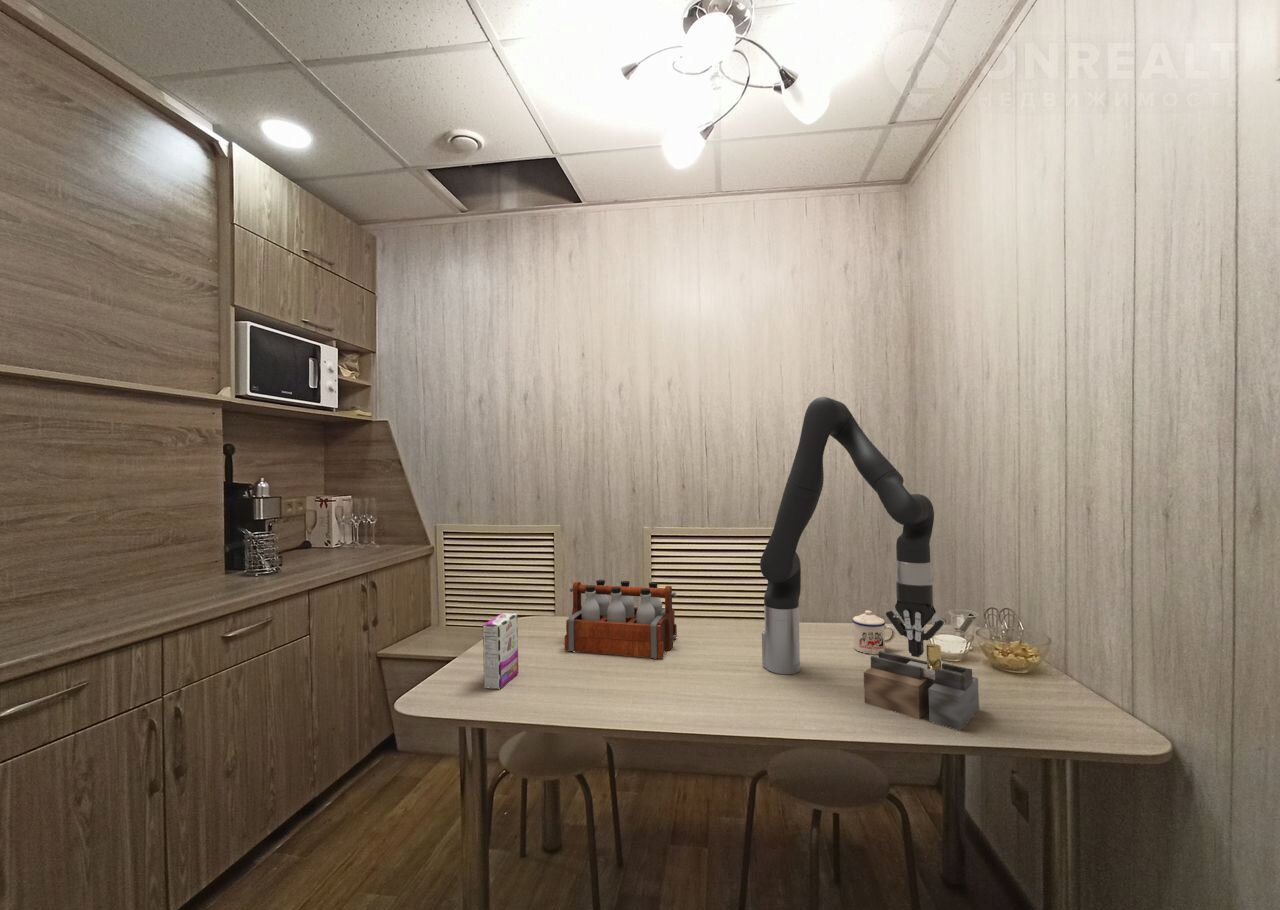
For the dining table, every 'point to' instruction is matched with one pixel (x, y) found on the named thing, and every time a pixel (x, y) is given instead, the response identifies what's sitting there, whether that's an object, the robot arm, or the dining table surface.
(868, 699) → the pair of card holders
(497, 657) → the candy bar box
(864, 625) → the teacup with lid
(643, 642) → the milk bottle holder
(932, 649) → the gold and grey piece
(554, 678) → the dining table surface
